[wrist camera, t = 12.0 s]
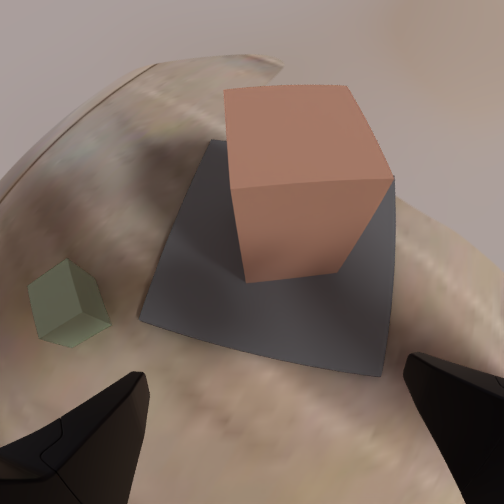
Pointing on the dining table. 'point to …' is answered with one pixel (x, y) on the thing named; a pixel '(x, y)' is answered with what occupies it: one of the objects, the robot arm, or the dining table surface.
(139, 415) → the robot arm
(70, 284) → the olive block
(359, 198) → the pink upright block
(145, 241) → the dining table surface
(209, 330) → the charcoal mat
